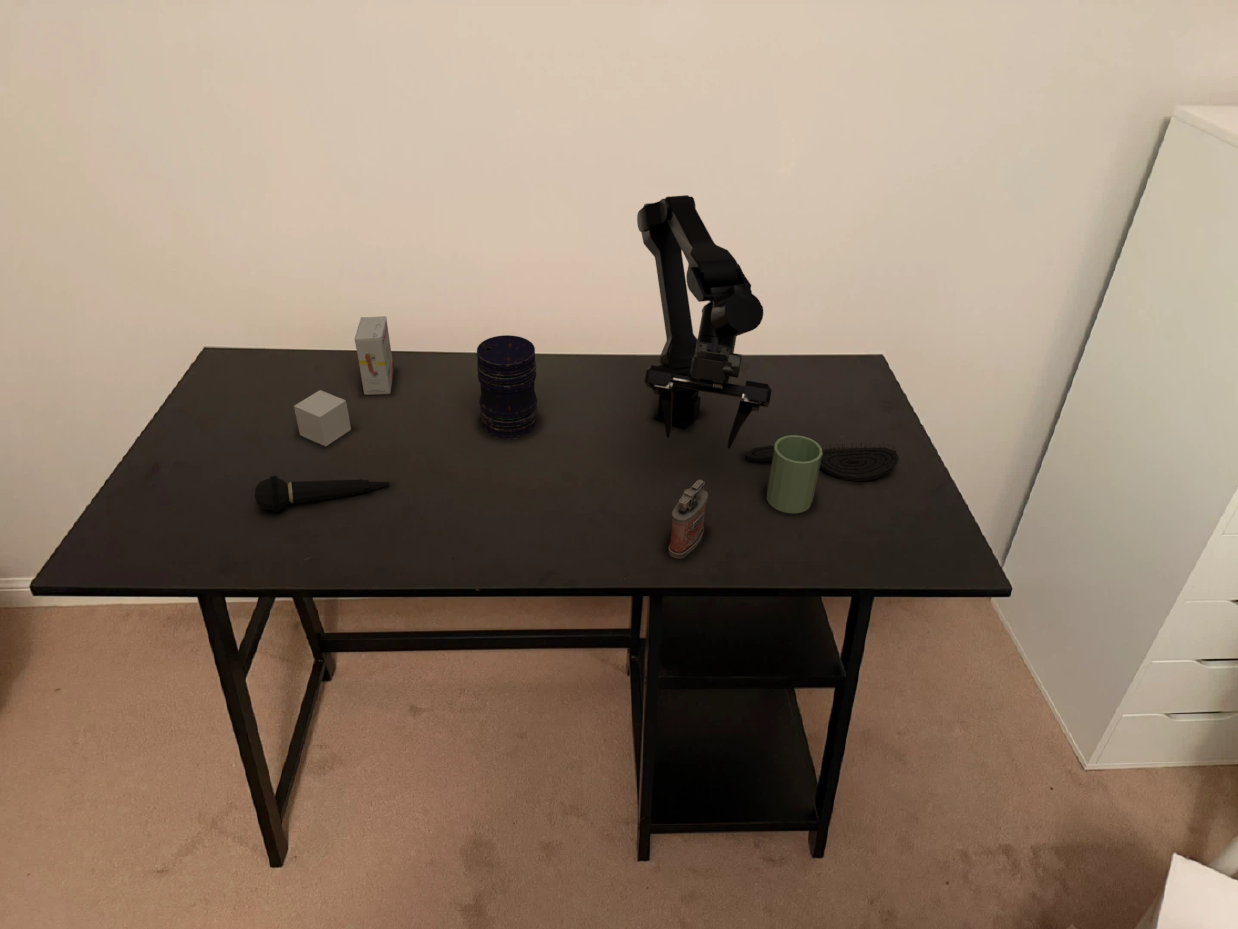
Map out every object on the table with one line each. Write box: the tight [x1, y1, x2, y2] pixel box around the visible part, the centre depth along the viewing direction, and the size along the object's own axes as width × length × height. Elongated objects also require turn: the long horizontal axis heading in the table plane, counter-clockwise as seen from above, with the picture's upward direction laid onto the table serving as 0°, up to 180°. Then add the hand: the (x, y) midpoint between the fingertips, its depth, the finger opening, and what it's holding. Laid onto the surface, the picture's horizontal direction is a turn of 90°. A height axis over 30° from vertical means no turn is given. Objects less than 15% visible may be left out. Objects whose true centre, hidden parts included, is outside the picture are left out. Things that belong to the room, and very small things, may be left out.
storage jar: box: [476, 334, 538, 440], centre depth 159 cm, size 10×10×15 cm
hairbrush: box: [745, 442, 900, 482], centre depth 156 cm, size 8×4×25 cm
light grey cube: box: [293, 389, 352, 447], centre depth 158 cm, size 6×6×6 cm
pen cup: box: [765, 434, 823, 515], centre depth 146 cm, size 7×7×10 cm
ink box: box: [354, 315, 395, 396], centre depth 169 cm, size 9×5×12 cm, turn 5°
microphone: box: [254, 475, 390, 513], centre depth 144 cm, size 6×6×20 cm
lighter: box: [668, 479, 709, 559], centre depth 137 cm, size 8×3×10 cm, turn 148°
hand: (698, 442), depth 139 cm, fingers open, 9 cm apart
